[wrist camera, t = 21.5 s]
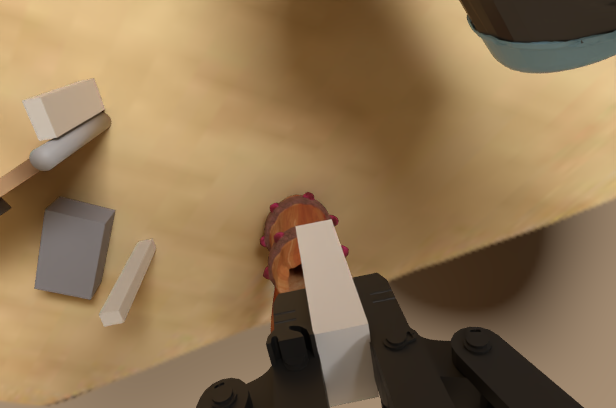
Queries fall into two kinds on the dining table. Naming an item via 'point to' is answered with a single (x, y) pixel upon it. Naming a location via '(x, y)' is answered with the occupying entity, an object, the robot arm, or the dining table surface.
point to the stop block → (73, 247)
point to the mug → (290, 241)
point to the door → (15, 181)
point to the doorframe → (66, 140)
